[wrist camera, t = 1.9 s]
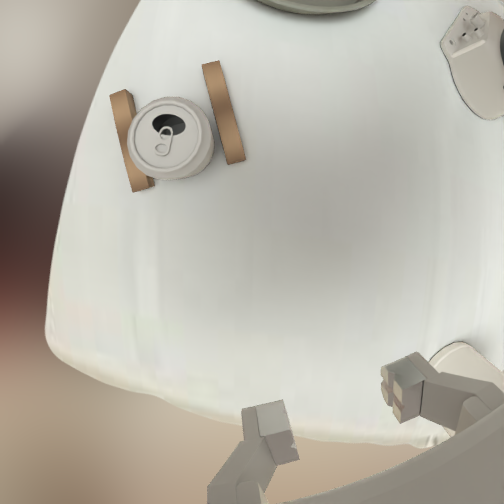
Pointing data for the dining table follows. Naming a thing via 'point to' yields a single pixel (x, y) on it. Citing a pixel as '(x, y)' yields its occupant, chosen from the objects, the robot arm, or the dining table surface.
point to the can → (170, 139)
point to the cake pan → (317, 5)
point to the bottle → (466, 366)
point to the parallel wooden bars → (222, 111)
